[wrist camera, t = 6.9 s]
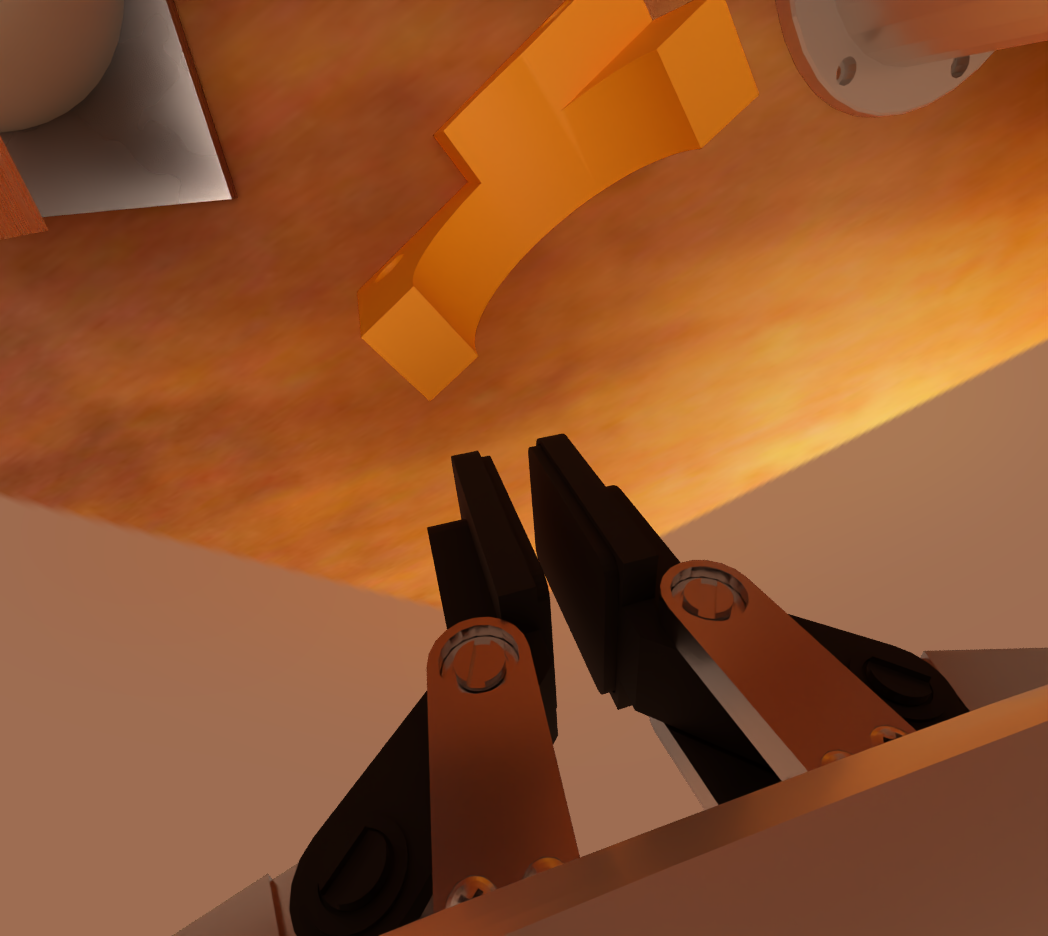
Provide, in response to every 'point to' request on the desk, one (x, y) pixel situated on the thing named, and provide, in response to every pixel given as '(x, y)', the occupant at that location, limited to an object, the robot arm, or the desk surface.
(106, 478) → the desk surface
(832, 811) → the robot arm
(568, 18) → the pipe clamp
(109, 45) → the cylinder with tray top
